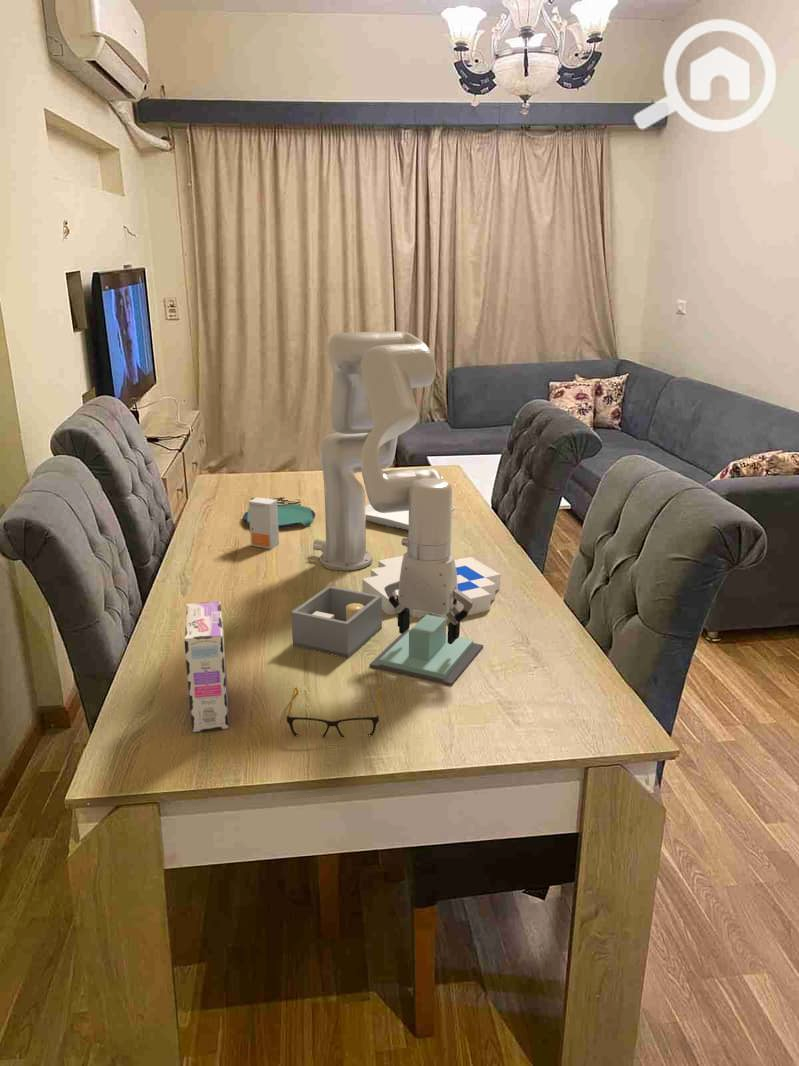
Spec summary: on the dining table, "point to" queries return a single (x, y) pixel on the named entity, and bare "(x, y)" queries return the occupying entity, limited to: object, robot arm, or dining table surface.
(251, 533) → the skincare box
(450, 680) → the mat
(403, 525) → the salad plate
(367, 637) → the storage box
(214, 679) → the candy box
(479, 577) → the pixel art tile
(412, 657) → the lid
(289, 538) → the dining table surface
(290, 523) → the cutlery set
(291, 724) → the eyeglasses
